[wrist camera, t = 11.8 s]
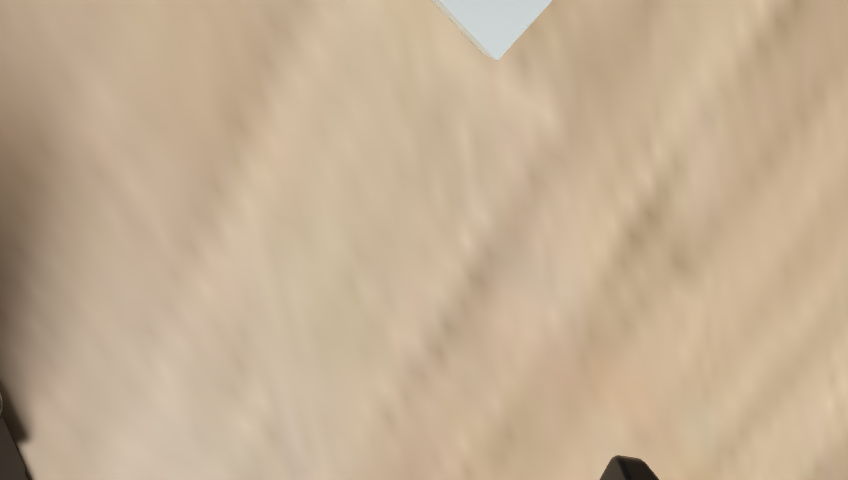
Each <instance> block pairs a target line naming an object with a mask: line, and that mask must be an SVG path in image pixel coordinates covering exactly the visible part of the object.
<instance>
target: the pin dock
mask: <svg viewBox="0 0 848 480" xmlns="http://www.w3.org/2000/svg"><path fill="white" fill-rule="evenodd" d="M432 1H433V2H434V3H435V4H436V5H437V6H438V7H439V8H440V10H441V11H442V12H443V13H444V14H445V15H446V16H447V17H448V18H449V19H450V20H451V21H452V22H453V23H454V24H455V25H456V26H457V27H458V28H459V29H460V30H461V31H462V32H463V33H464V35H465V36H466V37H467V38H468V39H469V40H470V41H471V42H472V43H473V44H474V45H475V46H476V47H477V48H478V49H479V50H480V51H481V52H482V53H483V54H485V55H487V56H489V57H490V58H492V59H494V60H496V61H497V60H498V59H499V58H500V57H501V56H502V55H503V54H504V53H505V51H506V50H507V49H508V48H509V47H510V46H511V45H512V44H513V43H514V42H515V41H516V39H517V38H518V37H519V36H520V35H521V34H522V33H523V32H524V31H525V30H526V29H527V27H528V26H529V25H530V24H531V23H532V22H533V21H534V20H535V19H536V18H537V17H538V15H539V14H540V13H541V12H542V11H543V10H544V9H545V8H546V7H547V6H548V5H549V3H550V2H551V1H552V0H432Z"/></svg>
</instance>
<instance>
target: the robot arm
mask: <svg viewBox="0 0 848 480" xmlns="http://www.w3.org/2000/svg"><path fill="white" fill-rule="evenodd" d="M1 411H2V398H1V394H0V414H1ZM0 480H28V479H27V477H26V475H25V466H24V464H23V462H22V460H21V457H20V455H19V453H18V451H17V448H16V446H15V444H14V442H13V439H12V437H11V435H10V433H9V431H8V428H7V426H6V424H5V422H4V419H3V418H2V417H1V416H0ZM600 480H659V479H658V477H657V476H656V475H655V474H654V473H653V471H652V470H651V469H650V468H649V466H648V465H647V464H646V463H645V462H644V461H642V460H641V459H638V458H633V457H627V456H620V455H618V456H615V457H613V458H612V459H611V460H610V462H609V464H608V466H607V467H606V469H605V471H604V473H603V475H602V476H601V478H600Z"/></svg>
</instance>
